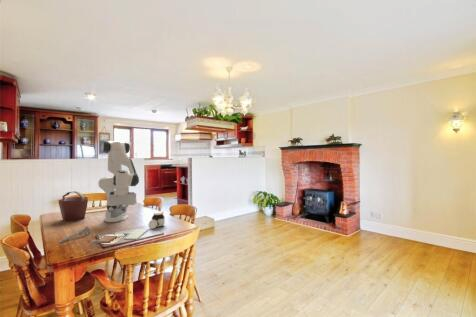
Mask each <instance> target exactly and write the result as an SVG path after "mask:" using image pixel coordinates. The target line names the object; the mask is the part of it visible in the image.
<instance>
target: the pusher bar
mask: <svg viewBox="0 0 476 317" xmlns="http://www.w3.org/2000/svg"><path fill="white" fill-rule="evenodd" d="M125 207H126V206H125V205H122V206H120V207H117V208H115V209H113V210H111V218H115V217H117V216H119V215H121V214H123V213H125V212H126V213H127V211H124V208H125Z"/></svg>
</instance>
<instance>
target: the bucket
mask: <svg viewBox="0 0 476 317" xmlns="http://www.w3.org/2000/svg"><path fill="white" fill-rule="evenodd" d="M71 193H75V194H77V195H78V196H71V197H66V196H69V195H70V194H71ZM88 202H89V196H84V195H83V194H82V193H81V192H79V191H68V192H66V193H65V194H64V195H62V196H61V199H58V207H59V211H60V214H61V218H62V221H64V220H65V221H64V222H77V221H80V220H84V219H85V218H86V212H87V207H88Z"/></svg>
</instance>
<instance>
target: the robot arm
mask: <svg viewBox="0 0 476 317" xmlns="http://www.w3.org/2000/svg"><path fill="white" fill-rule="evenodd" d="M101 149H102V152H103V153H105V154H108V156H107V171H108V172H109V173H111V174H113V176H107V177H101V178H100V179H99V180H98V188H100V189H101V190H102V191H104V193H105V195H106V201H107V205H106V210H105V214H104V215H105V216H104V219H103V221H105V222H106V223H116V222H120V221H125V220H127V219H128V218H129V216H130V215H128V214H127V211H128V208H129V206H134V205H136V204H137V193H136V192H134V191H132V192H131V191H129V190H130V188H129V187H136V186H137V185H138V184H139V182H140V179H139V178H140V177H139V175H138V173H137V171H136V170H137V169H136V167H135V166H134V162H133V159H132V157H129V156H128V155H127V154H128V153H129V152H130V151H131V146H130V143H129V142H127V141H119V140H114V141H113V140H106V141H103V142H102V144H101ZM123 166H126V167H127V168H128V171H129V172H128V171H127V169H126V170H125V169H123V168H122V167H123ZM122 205H125V206H126V207H125V208H124V211H126V212H125V213H123V214H121V215H119V216H117V217H115V218H111V210H113V209H115V208H117V207H120V206H122Z"/></svg>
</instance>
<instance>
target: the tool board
mask: <svg viewBox="0 0 476 317" xmlns="http://www.w3.org/2000/svg"><path fill="white" fill-rule="evenodd" d="M148 230H149V229H145V228H144V229H139V228H138V229H137V228H136V229H135V230H133V231H132V232H131V233H130V234H127V235H126V236H125V237H123V240H124V241H126V240H127V241H128V240H129V241H137V240H139V239H140V238H141V237H142V236H143V235H144V234H146V233H147V232H148Z"/></svg>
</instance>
